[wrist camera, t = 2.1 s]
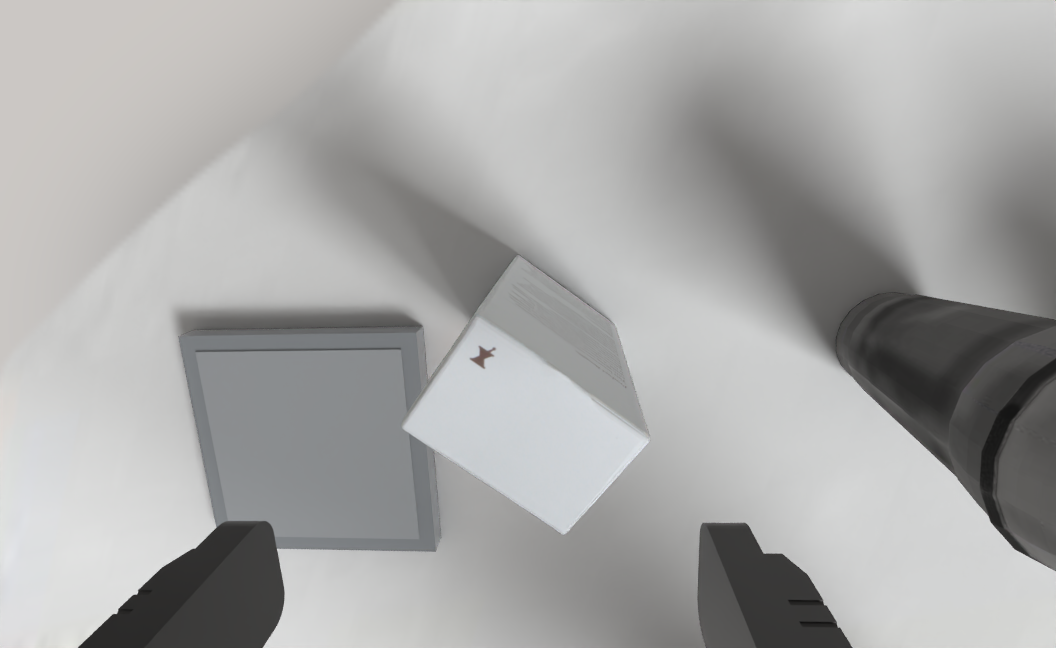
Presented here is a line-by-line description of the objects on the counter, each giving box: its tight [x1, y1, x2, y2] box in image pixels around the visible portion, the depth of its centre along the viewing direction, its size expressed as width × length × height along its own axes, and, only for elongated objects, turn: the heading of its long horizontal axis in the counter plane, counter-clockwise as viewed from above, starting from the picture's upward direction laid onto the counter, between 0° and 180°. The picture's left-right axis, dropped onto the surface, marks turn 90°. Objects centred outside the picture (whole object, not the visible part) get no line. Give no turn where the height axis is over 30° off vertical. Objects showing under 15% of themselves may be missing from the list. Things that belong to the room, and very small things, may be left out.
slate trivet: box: [178, 326, 441, 552], centre depth 29 cm, size 12×12×1 cm
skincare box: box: [401, 255, 650, 535], centre depth 21 cm, size 6×4×12 cm
